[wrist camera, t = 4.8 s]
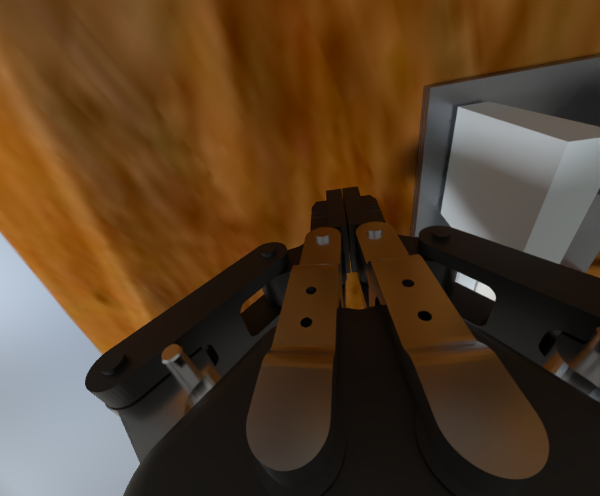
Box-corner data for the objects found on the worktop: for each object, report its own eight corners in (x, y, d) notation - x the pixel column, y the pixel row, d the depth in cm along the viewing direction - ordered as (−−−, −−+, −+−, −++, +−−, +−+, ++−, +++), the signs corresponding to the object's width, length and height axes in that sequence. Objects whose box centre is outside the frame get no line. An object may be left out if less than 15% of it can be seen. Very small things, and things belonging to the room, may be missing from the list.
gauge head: (431, 268, 19) (480, 357, 13) (458, 106, 13) (568, 141, 7) (452, 266, 18) (510, 356, 13) (489, 101, 12) (628, 133, 7)
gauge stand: (405, 282, 21) (443, 378, 15) (423, 86, 13) (520, 108, 7) (571, 270, 20) (695, 372, 13) (704, 35, 12) (1190, 0, 5)
